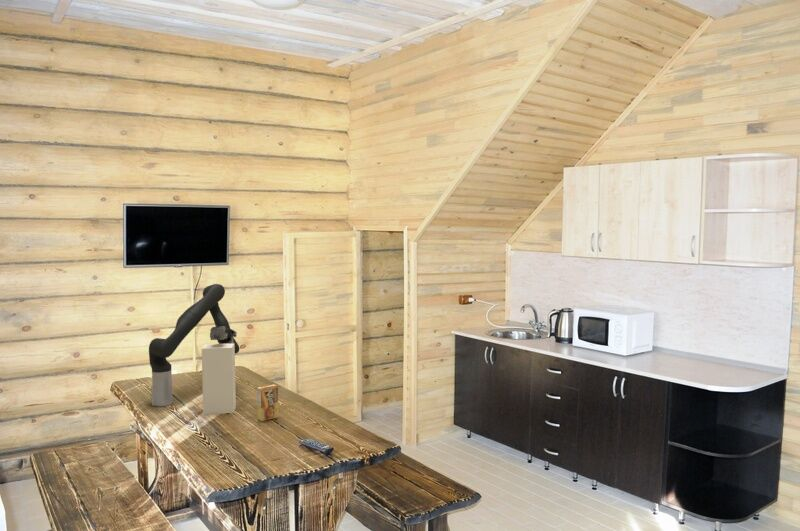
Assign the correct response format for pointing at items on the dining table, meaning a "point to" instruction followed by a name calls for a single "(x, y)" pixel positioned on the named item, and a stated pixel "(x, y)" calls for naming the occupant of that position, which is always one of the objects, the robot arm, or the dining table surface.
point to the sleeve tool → (218, 333)
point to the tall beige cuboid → (218, 378)
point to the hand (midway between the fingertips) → (220, 328)
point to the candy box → (267, 402)
